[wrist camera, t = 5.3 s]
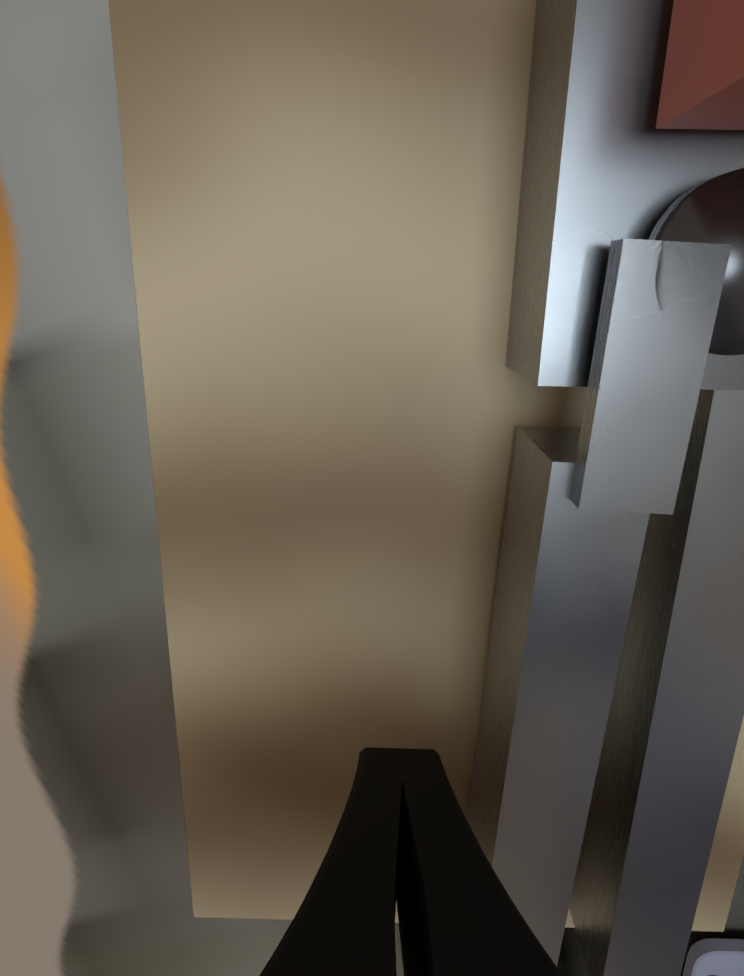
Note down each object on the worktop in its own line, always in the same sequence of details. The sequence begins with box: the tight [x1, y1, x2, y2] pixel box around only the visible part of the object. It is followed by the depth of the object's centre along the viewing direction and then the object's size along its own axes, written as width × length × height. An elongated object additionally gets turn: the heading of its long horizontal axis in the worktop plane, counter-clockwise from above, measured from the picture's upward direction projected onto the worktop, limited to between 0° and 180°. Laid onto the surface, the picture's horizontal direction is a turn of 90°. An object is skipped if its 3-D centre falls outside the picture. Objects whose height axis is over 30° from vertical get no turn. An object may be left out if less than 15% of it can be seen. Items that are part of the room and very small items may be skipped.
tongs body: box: [505, 0, 744, 976], centre depth 10 cm, size 17×4×2 cm, turn 179°
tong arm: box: [466, 168, 744, 966], centre depth 10 cm, size 14×3×3 cm, turn 177°
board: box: [109, 0, 744, 932], centre depth 12 cm, size 18×12×1 cm, turn 179°
